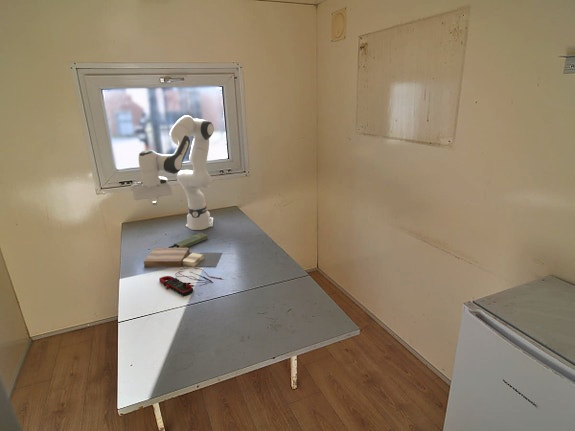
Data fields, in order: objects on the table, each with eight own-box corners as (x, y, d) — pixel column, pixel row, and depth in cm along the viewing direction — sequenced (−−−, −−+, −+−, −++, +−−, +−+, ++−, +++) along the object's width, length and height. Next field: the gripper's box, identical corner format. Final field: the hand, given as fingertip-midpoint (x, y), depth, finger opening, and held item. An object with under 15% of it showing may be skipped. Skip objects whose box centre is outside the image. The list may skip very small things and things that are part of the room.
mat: (190, 253, 199) (190, 252, 199) (221, 253, 198) (221, 252, 198) (182, 267, 184) (182, 266, 184) (215, 267, 183) (215, 266, 183)
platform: (155, 253, 199) (154, 247, 198) (189, 253, 199) (189, 247, 197) (144, 267, 184) (143, 261, 183) (181, 267, 184) (180, 261, 183)
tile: (193, 256, 194) (192, 252, 193) (203, 258, 192) (203, 254, 191) (182, 264, 185) (182, 260, 184) (193, 266, 183) (193, 262, 182)
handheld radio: (201, 236, 220) (167, 250, 202) (200, 231, 219) (166, 245, 201) (207, 239, 216) (173, 253, 198) (207, 234, 215) (173, 248, 197)
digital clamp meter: (184, 294, 153) (154, 275, 168) (185, 302, 155) (155, 283, 170) (224, 272, 170) (194, 257, 185) (225, 280, 172) (194, 265, 187)
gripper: (130, 184, 178) (135, 209, 183) (170, 179, 187) (174, 203, 192) (129, 182, 184) (134, 206, 189) (168, 177, 192) (172, 200, 197)
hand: (154, 204), depth 190 cm, fingers closed
